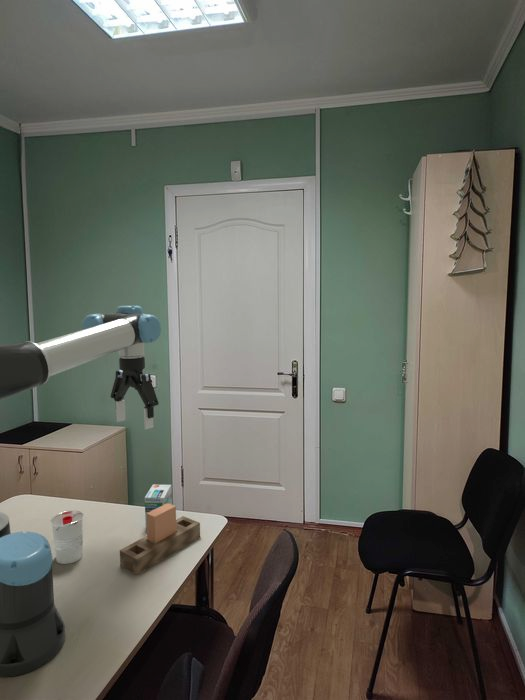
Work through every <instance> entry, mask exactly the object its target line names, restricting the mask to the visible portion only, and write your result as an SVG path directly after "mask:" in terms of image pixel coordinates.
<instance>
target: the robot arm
mask: <svg viewBox="0 0 525 700" xmlns="http://www.w3.org/2000/svg"><path fill="white" fill-rule="evenodd" d="M161 333H162V326H161V322H160V320H159V318H158V317H157V316H156V315H153V314H147V313H144V311H143V307H141V306H140V305H119V306H117V308H116V312H114V313H111V312H110V313H109V312H108V313H107V312H106V313H92V314H88V315H86V316H85V317H84V318H83V320H82V322H81V330H78V331H75V332H71V333H68V334H64V335H61V336H57V337H53V338H50V339H46V340H44V341H40V342H37V343H35V342H33V341H30V340H26V341H22V342H20V343H14V344H0V400H4V399H7V398H10V397H13V396H16V395H19V394H22V393H24V392H27V391H30V390H31V389H34V388H37V387H40V386H41V385H44V384H46V383H47V382H48V381H49V378H50V377H52V376H54V375H57V374H60V373H62V372H65V371H68V370H70V369H73V368H77V367H79V366H81V365H83V364H86V363H89V362H92V361H94V360H97V359H99V358H102V357H104V356H108V355H110V354H113V353H115V352H118V356H119V358H118V363H119V364H118V365H119V370H116V371H115V377H114V378H115V379H114V383H113V386H112V388H111V392H110V398H111V399H113V400H114V401H115V410H116V411H115V412H116V422H117V423H120V422H124V421H126V404H125V403H126V401H125V396H126V394H127V392H128V390H129V388H134V390H136V391H137V393H138V395H139V396H140V399H141V400H142V402H143V404H144V407H143V422H144V424H143V425H144V430H149V429H152V428H154V416H155V415H154V413H155V411H154V407H156V406H159V404H160V403H159V401H158V396H157V395H156V392H155V391H156V390H155V389H154V386H153V383H152V379H151V378H152V377H151V373H146V374H144V373H143V371H144V369H146V358H145V344H148V343H149V344H150V343H155V342H156V341H157V340H158V339H160V337H161ZM51 549H52V548H51V545H50V542H49V540H48V539H47V538H46V537H45V536H44V535H42V534H41V533H38V532H34V531H26V532H23V531H18V532H13V533H11V525H10V517H9V516H8V515H7V514H5V513H3V512H2V511H0V677H3V678H5V677H16V676H21V675H25V674H27V673H30V672H32V671H35V670H37V669H39V668H41V667H42V666H44V665H45V664H47V663H48V662H50V661H51V660H52V659H53V658H54V657H55V656H56V655H57V654H58V653H59V652H60V650H62V649H61V648H62V647H63V646H64V643H65V640H66V628H65V623H64V621H63V619H62V616H61V615H60V613H59V610H58V608H57V607H56V604H55V596H54V595H55V593H54V578H53V577H54V576H53V574H54V573H53V554H52V550H51Z"/></svg>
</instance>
